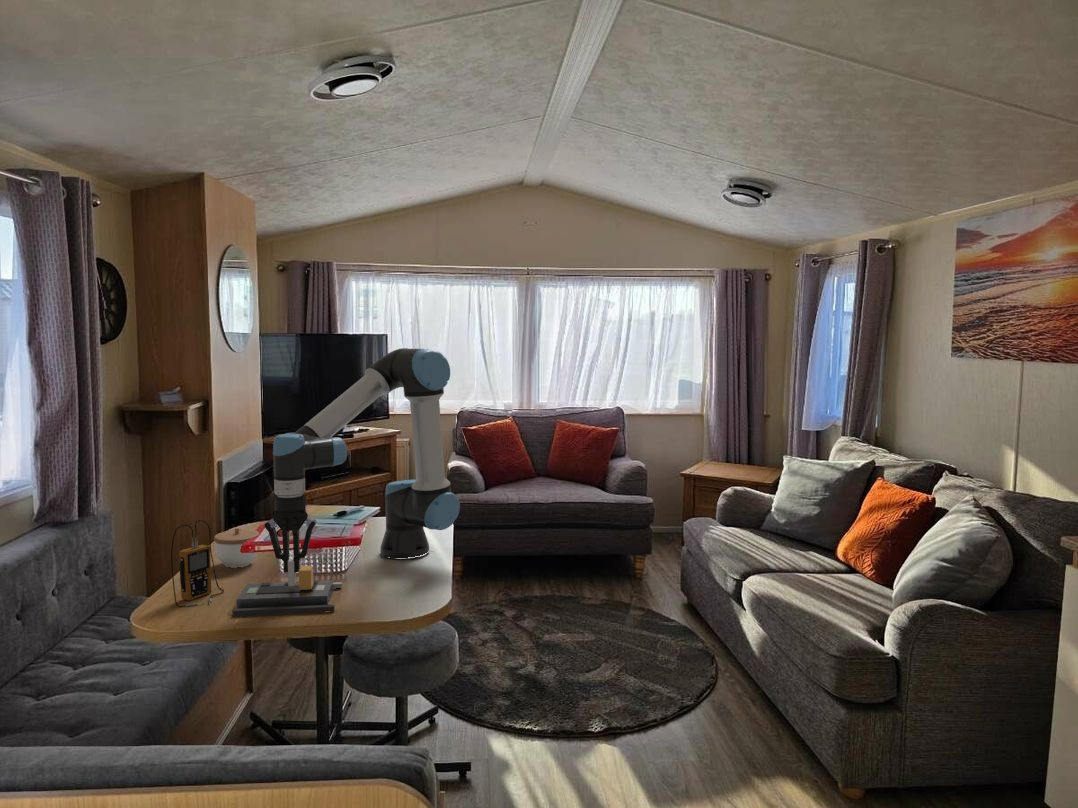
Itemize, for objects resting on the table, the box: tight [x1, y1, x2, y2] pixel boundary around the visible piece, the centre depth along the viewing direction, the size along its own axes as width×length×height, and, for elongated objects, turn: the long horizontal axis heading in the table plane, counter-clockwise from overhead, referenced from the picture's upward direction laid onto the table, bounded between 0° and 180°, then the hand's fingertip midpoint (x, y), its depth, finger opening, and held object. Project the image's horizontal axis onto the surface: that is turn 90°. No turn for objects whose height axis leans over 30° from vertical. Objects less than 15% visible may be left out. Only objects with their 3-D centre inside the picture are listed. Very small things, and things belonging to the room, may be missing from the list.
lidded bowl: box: [213, 527, 261, 569], centre depth 229 cm, size 13×13×11 cm
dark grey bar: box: [232, 604, 336, 617], centre depth 190 cm, size 24×1×1 cm, turn 98°
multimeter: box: [170, 519, 225, 608], centre depth 199 cm, size 15×10×20 cm
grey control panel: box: [235, 580, 334, 609], centre depth 199 cm, size 22×12×3 cm, turn 98°
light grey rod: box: [333, 581, 343, 590], centre depth 208 cm, size 24×1×1 cm, turn 98°
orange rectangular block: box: [298, 565, 315, 590], centre depth 199 cm, size 3×4×5 cm
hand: (292, 584), depth 199 cm, fingers closed
